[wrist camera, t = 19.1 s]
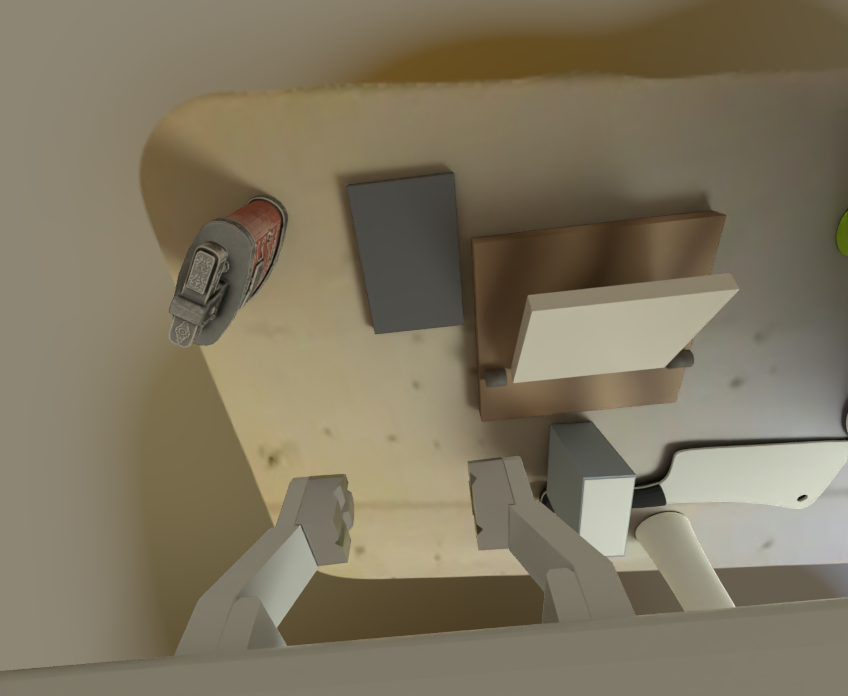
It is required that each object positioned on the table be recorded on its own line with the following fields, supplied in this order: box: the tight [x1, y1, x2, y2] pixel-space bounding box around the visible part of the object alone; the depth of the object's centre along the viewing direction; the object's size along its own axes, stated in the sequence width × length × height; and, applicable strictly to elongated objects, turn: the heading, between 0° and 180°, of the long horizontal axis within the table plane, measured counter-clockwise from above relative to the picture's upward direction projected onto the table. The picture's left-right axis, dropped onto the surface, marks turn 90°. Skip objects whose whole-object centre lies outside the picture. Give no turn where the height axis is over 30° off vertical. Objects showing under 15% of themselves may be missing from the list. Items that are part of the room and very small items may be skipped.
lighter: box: [168, 195, 288, 347], centre depth 25 cm, size 8×3×10 cm, turn 149°
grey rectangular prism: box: [547, 422, 636, 557], centre depth 36 cm, size 4×8×8 cm
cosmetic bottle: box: [635, 512, 735, 611], centre depth 37 cm, size 6×6×22 cm
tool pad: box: [347, 172, 464, 334], centre depth 29 cm, size 7×11×1 cm, turn 6°
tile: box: [510, 273, 740, 383], centre depth 28 cm, size 12×10×1 cm
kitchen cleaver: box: [539, 440, 848, 513], centre depth 42 cm, size 31×2×10 cm
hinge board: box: [471, 210, 726, 422], centre depth 31 cm, size 17×16×3 cm
